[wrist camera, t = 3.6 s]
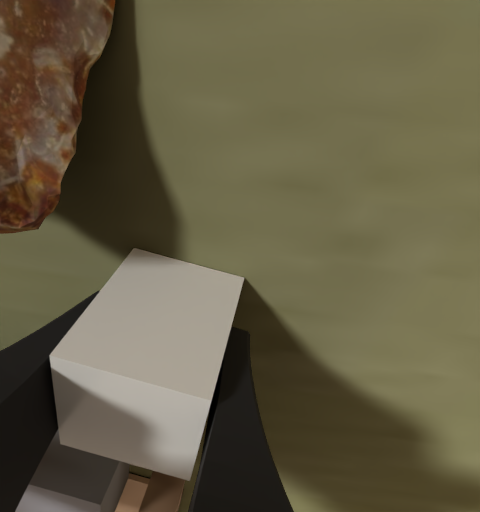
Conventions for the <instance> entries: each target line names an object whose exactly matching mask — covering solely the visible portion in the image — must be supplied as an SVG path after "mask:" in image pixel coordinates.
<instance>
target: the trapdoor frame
mask: <svg viewBox="0 0 480 512" xmlns="http://www.w3.org/2000/svg"><path fill="white" fill-rule="evenodd" d="M184 483H185V480H184V479H181V478H177V477H174V476H170V475H167V474H163V473H160V472H156V471H153V472H152V475H151V478H150V479H148V478H145V477H141V476H138V475H134V474H131V473H129V477H128V480H127V483H126V485H125V488H124V490H123V493H122V495H121V498H120V500H119V503H118V505H117V507H116V510H115V512H178V509H179V506H180V502H181V498H182V494H183V490H184V489H183V487H184Z"/></svg>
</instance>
